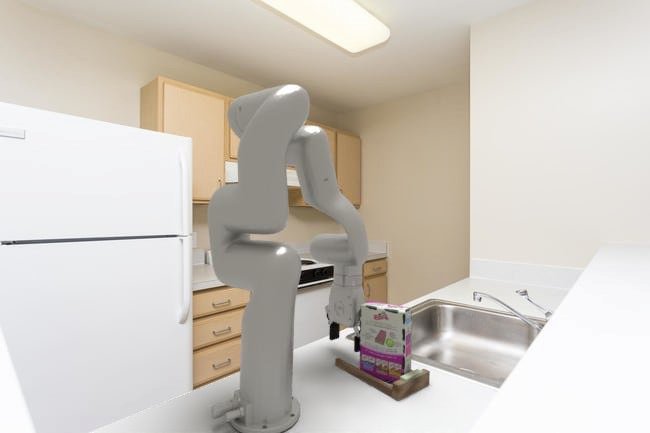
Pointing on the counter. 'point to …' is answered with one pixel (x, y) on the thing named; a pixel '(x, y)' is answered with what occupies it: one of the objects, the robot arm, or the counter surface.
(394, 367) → the candy bar box
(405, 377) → the wooden box holder
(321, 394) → the counter surface
